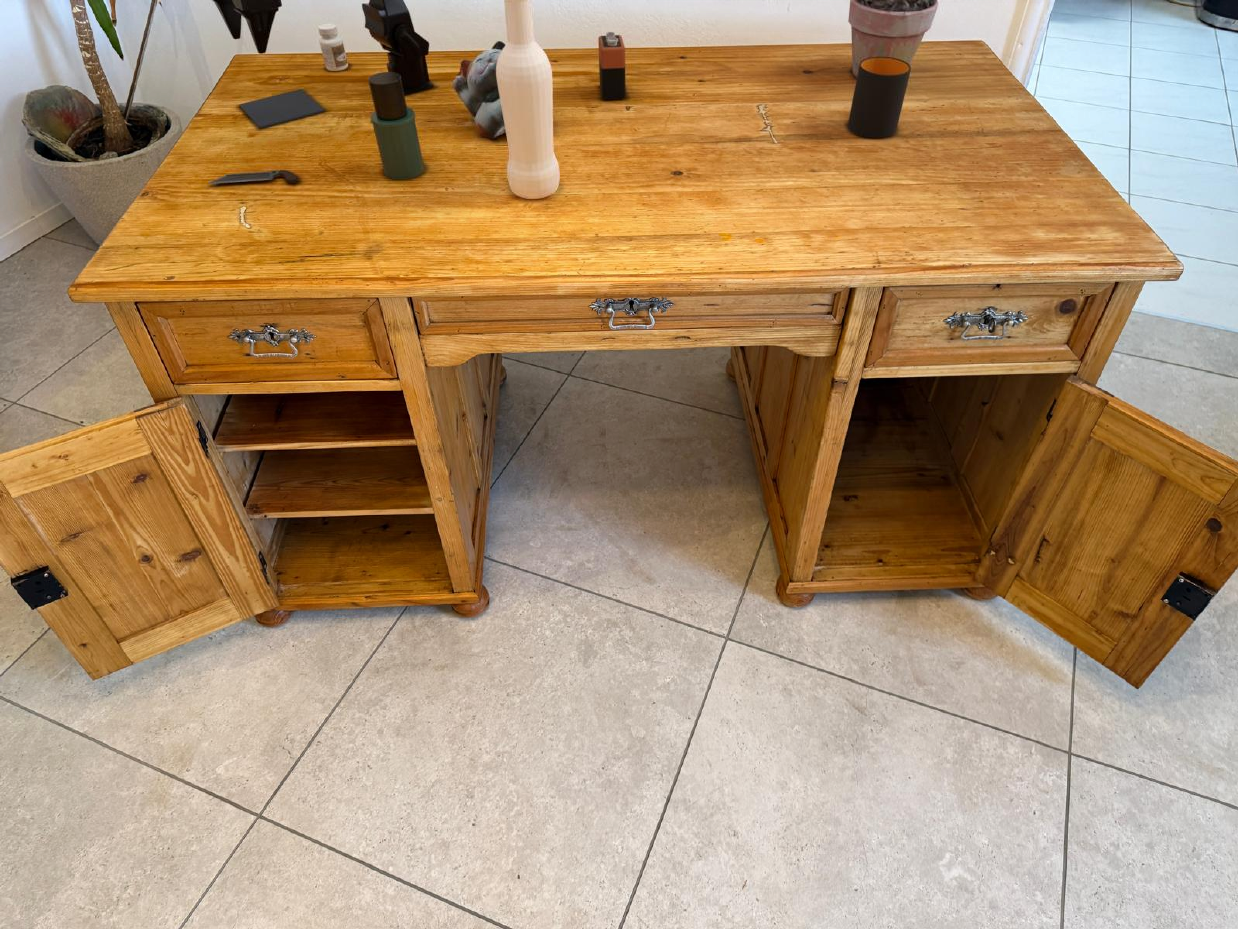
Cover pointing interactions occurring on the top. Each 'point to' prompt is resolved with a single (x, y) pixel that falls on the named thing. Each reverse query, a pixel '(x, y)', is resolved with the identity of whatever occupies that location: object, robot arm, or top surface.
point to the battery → (612, 66)
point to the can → (400, 151)
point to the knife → (256, 177)
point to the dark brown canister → (389, 101)
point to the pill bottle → (332, 48)
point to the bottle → (527, 106)
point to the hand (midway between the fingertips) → (249, 45)
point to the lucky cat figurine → (482, 91)
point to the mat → (281, 108)
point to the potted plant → (888, 28)
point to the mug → (878, 97)
